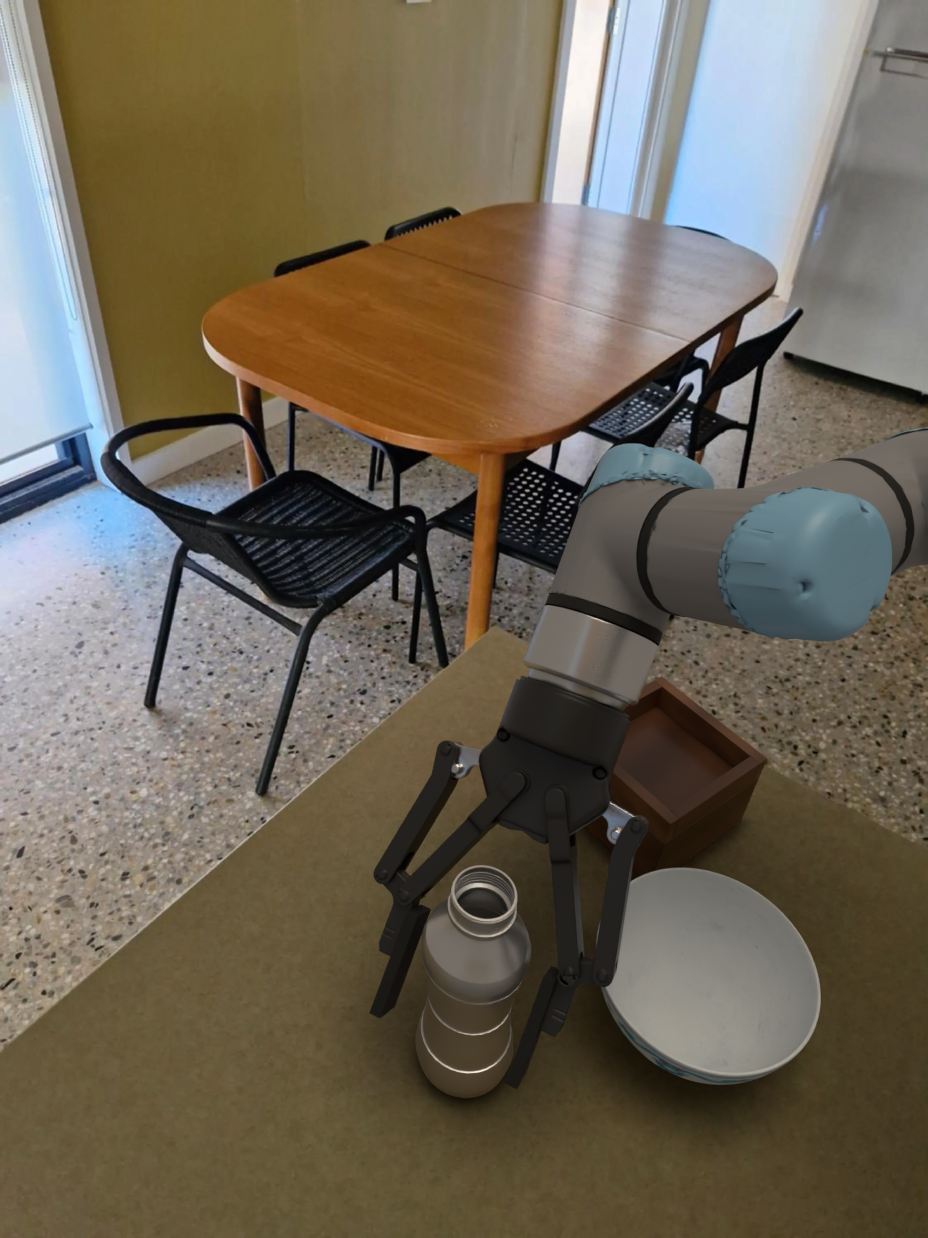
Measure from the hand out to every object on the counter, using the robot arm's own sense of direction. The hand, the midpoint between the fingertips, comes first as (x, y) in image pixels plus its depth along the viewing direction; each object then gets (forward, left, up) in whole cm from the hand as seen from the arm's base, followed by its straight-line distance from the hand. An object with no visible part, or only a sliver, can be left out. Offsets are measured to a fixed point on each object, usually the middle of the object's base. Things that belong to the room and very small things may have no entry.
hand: (447, 1043), depth 54 cm
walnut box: (+10, -30, -9) cm, 33 cm away
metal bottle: (+2, -3, -9) cm, 9 cm away
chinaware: (-5, -18, -9) cm, 21 cm away
